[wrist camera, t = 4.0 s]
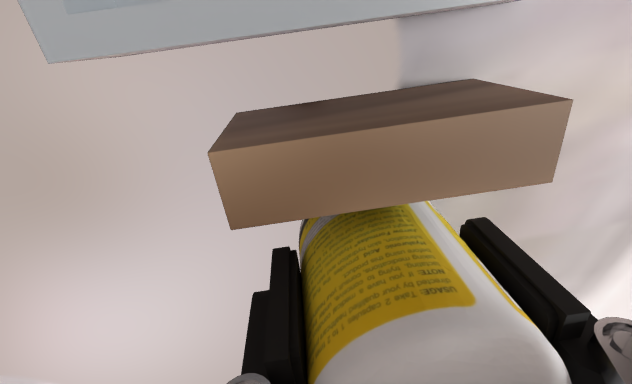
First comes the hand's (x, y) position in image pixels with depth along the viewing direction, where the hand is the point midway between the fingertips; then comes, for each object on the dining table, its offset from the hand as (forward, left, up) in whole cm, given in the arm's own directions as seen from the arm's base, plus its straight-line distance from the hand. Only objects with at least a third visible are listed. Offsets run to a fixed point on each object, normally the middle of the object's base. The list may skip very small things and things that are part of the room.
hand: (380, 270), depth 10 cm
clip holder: (0, 0, -2) cm, 2 cm away
